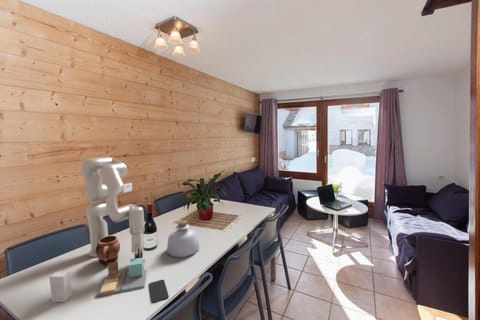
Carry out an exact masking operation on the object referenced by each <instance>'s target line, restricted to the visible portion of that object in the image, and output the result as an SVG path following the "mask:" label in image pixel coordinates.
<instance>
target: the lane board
mask: <svg viewBox="0 0 480 320" xmlns="http://www.w3.org/2000/svg"><path fill="white" fill-rule="evenodd" d="M147 271H148V270H147V269H144V270H143V276H140V277H134V278H129V272H127V271H126V272H124V273H121V274H120V277H119V280H118V281H116V282H111V283H105V284H104V282H105V279H106V277H107V275H106V276H104V277H103V280H102V282H101V284H100V286H99V289H98V291H97V293H96V297H103V296H107V295H108V296H109V295H113V294H119V293H123V292H124V293H125V292H129V291H134V290H138V289H144V288H145V286H146V279H147Z"/></svg>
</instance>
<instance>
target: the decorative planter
mask: <svg viewBox="0 0 480 320" xmlns="http://www.w3.org/2000/svg"><path fill="white" fill-rule="evenodd" d="M119 241H120V240H119V239H118V236H117V235H113V234H110V235H109V234H108V236H106V237H103V238H101V239H100V240H99V241H98V244H97V247H96V255H97V257H96V258H97V259H98V262H99V265H101V266H105V265H106V266H108V264H109V263H111V262H117V261H118V260H119V253H120V249H121V244H120V242H119Z"/></svg>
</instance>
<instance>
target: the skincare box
mask: <svg viewBox="0 0 480 320" xmlns="http://www.w3.org/2000/svg"><path fill="white" fill-rule="evenodd" d="M48 278H49V285H50V294H51V295H50V296H51V303H57V302H58V303H66V302H67V301H68V300H69V299H70V298H72V296H73V293H72V292H73V291H72V285H71V275H70V271H69V270H66V271H65V270H63V271H59V270H58V271H55V272H54V273H53V274H51V275H49V277H48Z"/></svg>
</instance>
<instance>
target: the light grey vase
mask: <svg viewBox="0 0 480 320" xmlns="http://www.w3.org/2000/svg"><path fill="white" fill-rule="evenodd" d="M176 222H177V225H176V227H175V229H176V230H175V231H172V232H170V233H169V235H168V238H167V245H166V246H167V247H166V252H167V254H168V255H170V256H172V257H173V258H187V257H189V256H193V255H194V254H196V252H197V251H198V250H199V249H200V243H199V238H198V234H197V232H196V231H195V230H194V229H190V225H189V223H188V220H187V219H179V220H177V221H176Z"/></svg>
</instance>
